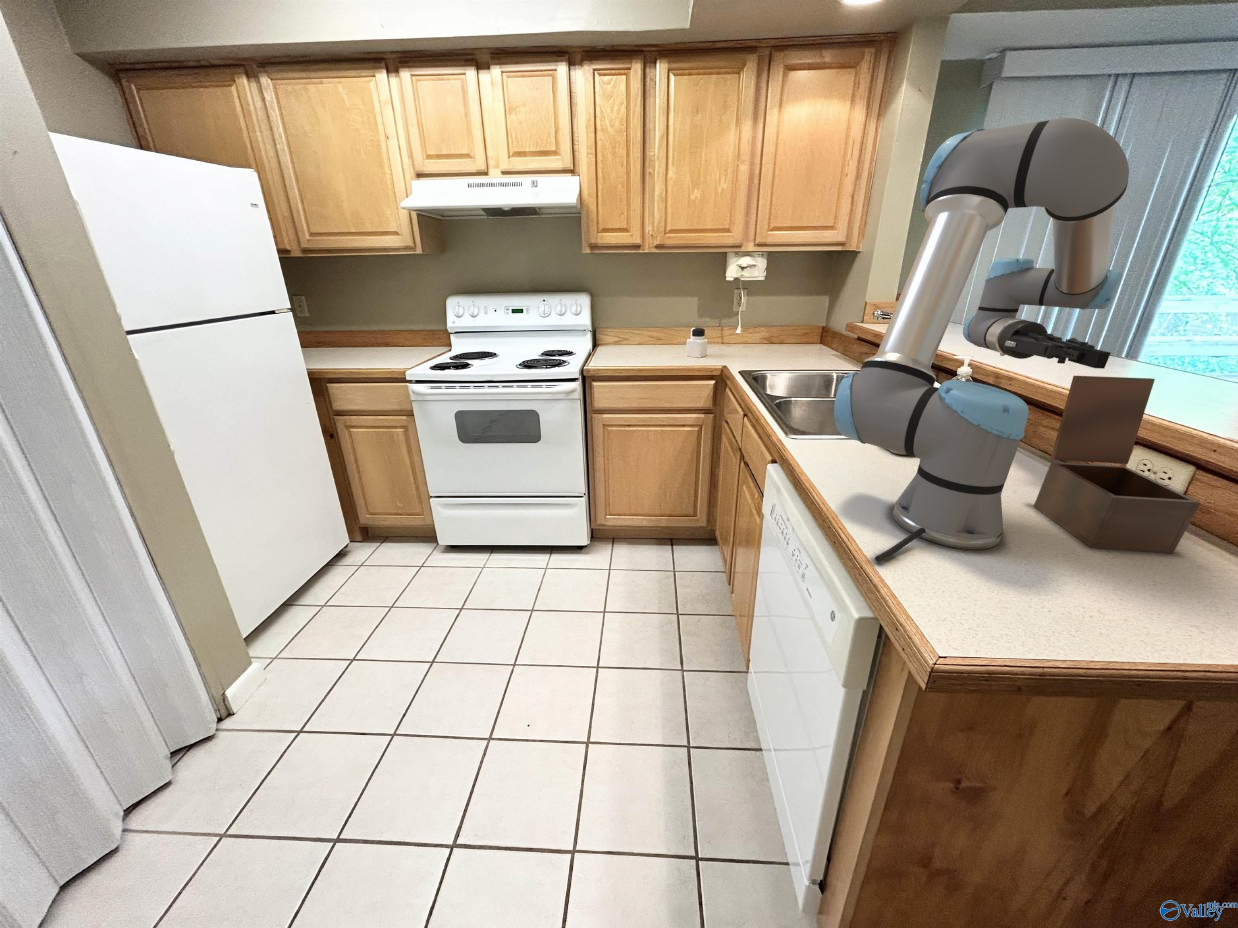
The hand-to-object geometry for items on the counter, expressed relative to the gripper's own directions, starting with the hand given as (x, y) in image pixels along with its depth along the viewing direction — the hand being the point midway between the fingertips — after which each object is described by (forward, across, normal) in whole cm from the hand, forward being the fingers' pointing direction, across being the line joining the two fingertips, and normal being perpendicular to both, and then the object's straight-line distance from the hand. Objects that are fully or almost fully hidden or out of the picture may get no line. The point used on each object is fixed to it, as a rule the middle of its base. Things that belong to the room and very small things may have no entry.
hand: (1102, 360), depth 82 cm
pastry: (-20, +18, -26) cm, 38 cm away
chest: (+12, 0, -26) cm, 28 cm away
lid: (+5, 0, -9) cm, 10 cm away
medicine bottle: (-128, +64, -26) cm, 145 cm away
